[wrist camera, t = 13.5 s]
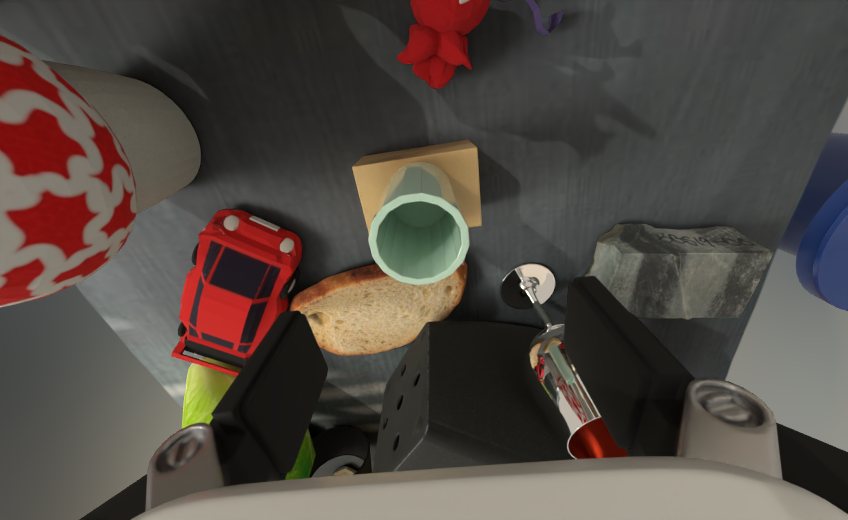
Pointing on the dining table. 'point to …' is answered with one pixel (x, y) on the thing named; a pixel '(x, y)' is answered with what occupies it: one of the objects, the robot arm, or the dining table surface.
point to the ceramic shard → (344, 471)
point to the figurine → (450, 36)
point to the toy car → (235, 288)
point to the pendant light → (341, 447)
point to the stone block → (679, 270)
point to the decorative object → (79, 168)
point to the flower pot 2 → (463, 402)
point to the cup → (419, 226)
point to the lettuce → (206, 394)
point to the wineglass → (556, 371)
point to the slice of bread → (375, 309)
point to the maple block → (449, 157)
